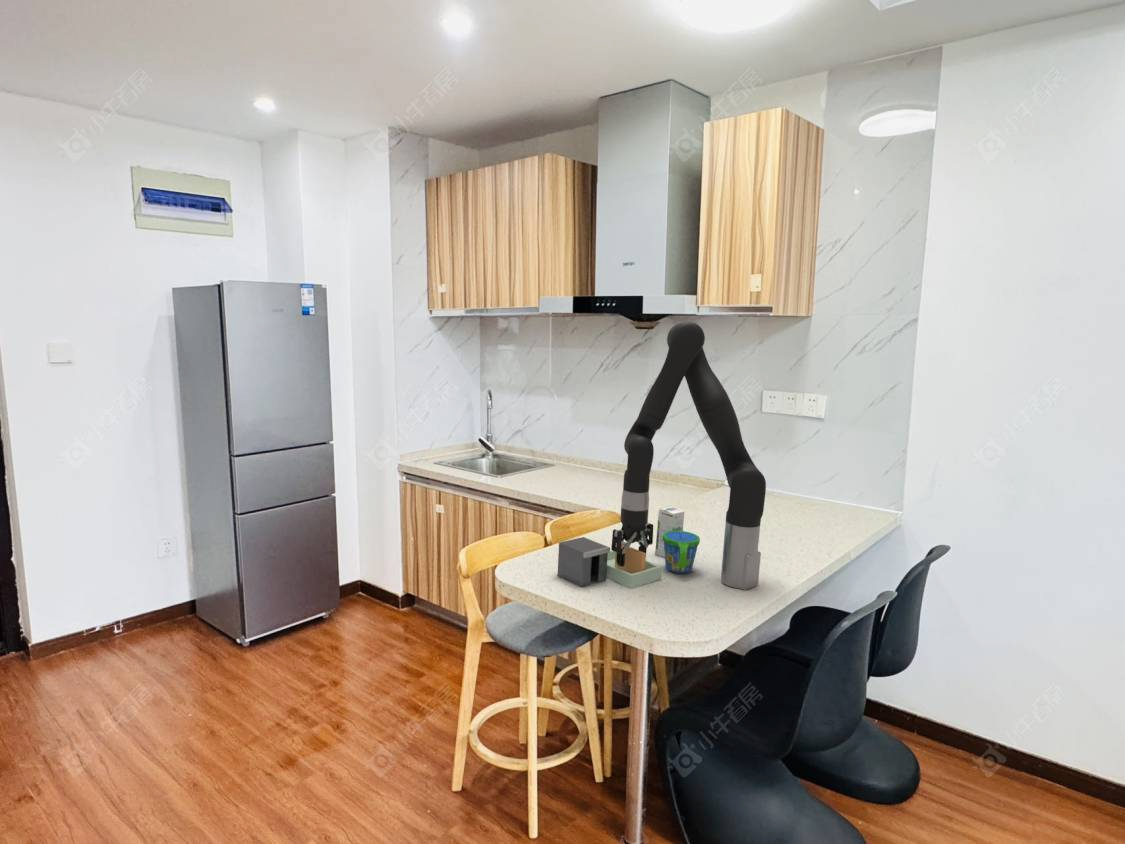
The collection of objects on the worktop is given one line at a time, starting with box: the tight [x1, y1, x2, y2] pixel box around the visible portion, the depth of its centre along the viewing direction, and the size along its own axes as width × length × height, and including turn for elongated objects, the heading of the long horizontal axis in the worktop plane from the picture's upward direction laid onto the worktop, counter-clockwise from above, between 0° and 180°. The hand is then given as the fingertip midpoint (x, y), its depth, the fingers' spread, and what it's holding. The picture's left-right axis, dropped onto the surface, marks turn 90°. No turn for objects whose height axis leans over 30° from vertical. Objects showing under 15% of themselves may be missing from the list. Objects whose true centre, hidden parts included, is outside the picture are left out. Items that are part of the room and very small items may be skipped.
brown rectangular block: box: [615, 544, 647, 574], centre depth 186 cm, size 10×2×7 cm, turn 40°
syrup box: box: [654, 506, 685, 558], centre depth 204 cm, size 6×6×14 cm
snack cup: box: [663, 530, 701, 574], centre depth 193 cm, size 16×10×10 cm
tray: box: [606, 549, 663, 589], centre depth 188 cm, size 18×12×4 cm, turn 40°
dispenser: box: [557, 536, 611, 588], centre depth 183 cm, size 11×9×10 cm
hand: (631, 562), depth 185 cm, fingers open, 8 cm apart
